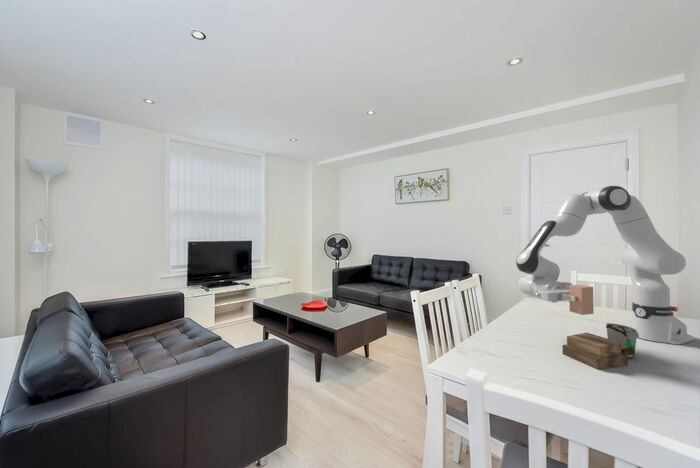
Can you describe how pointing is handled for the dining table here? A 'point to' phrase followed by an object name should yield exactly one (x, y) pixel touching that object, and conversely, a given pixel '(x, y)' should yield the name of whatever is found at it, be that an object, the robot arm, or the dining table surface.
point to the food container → (623, 338)
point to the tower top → (594, 345)
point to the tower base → (596, 359)
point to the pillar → (581, 299)
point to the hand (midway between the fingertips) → (583, 298)
